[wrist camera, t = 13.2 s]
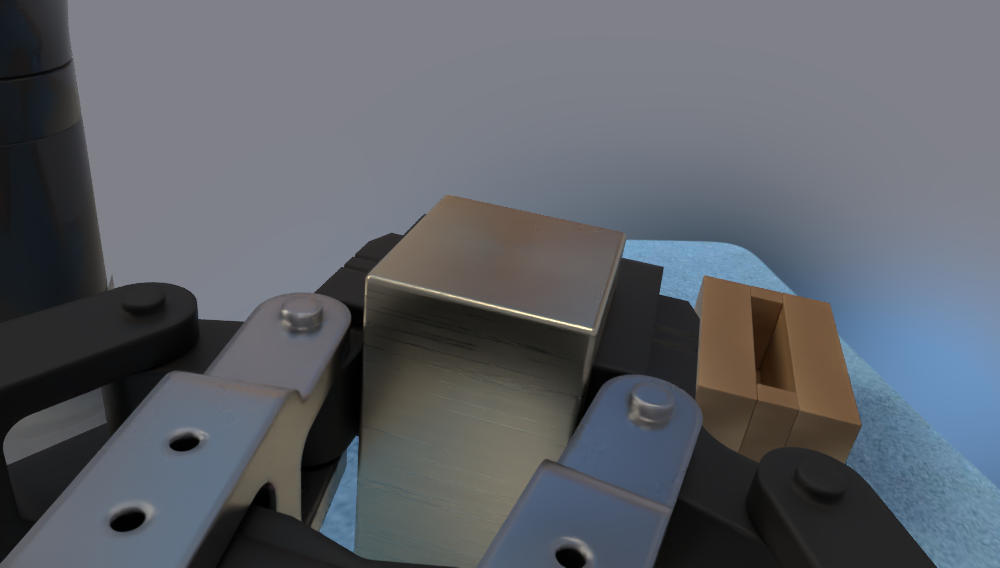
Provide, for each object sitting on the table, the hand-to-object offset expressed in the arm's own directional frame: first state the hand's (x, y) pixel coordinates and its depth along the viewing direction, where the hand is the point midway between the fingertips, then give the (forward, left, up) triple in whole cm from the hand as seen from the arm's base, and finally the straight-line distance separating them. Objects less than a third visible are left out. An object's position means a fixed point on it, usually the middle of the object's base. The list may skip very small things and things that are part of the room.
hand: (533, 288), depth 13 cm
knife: (0, -3, -12) cm, 12 cm away
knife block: (+10, +28, -21) cm, 36 cm away
